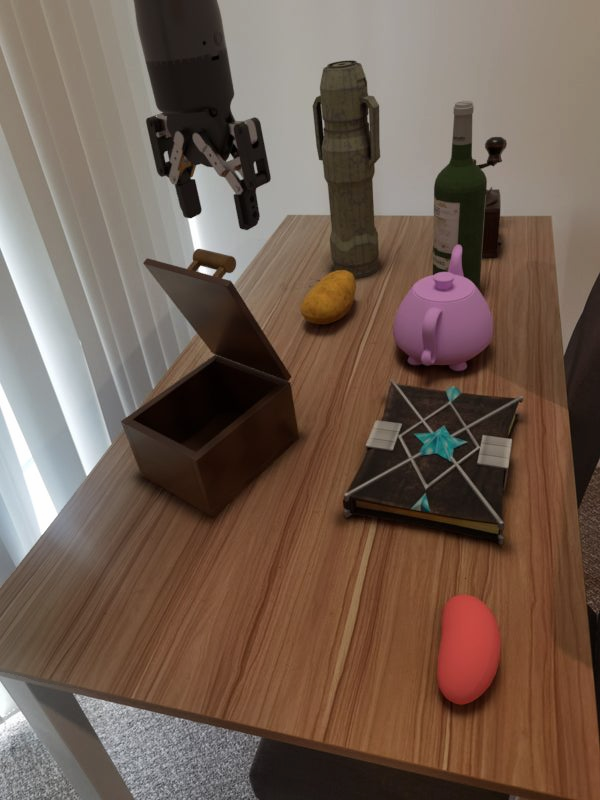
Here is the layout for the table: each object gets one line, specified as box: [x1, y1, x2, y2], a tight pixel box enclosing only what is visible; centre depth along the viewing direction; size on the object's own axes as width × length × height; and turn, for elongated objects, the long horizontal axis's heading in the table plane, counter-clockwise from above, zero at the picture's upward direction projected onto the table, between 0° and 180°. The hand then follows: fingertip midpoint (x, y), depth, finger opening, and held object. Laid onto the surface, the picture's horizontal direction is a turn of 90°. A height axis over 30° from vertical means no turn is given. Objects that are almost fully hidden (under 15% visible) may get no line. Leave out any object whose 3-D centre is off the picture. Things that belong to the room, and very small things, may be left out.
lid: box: [142, 248, 292, 382], centre depth 70 cm, size 17×13×5 cm
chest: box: [120, 354, 300, 518], centre depth 74 cm, size 16×13×9 cm
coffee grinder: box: [472, 136, 508, 259], centre depth 113 cm, size 16×11×18 cm
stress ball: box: [436, 593, 502, 706], centre depth 51 cm, size 5×9×6 cm, turn 153°
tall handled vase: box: [312, 59, 381, 279], centre depth 105 cm, size 9×12×35 cm
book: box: [342, 379, 524, 546], centre depth 70 cm, size 22×17×5 cm
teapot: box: [392, 245, 494, 372], centre depth 86 cm, size 20×14×12 cm
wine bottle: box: [432, 100, 488, 291], centre depth 94 cm, size 8×8×30 cm
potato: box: [299, 270, 357, 325], centre depth 100 cm, size 8×14×7 cm, turn 152°
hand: (220, 221), depth 64 cm, fingers open, 8 cm apart
